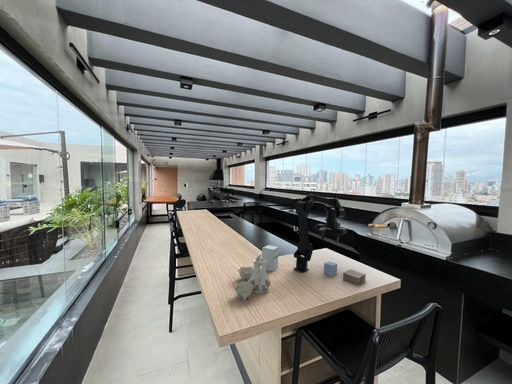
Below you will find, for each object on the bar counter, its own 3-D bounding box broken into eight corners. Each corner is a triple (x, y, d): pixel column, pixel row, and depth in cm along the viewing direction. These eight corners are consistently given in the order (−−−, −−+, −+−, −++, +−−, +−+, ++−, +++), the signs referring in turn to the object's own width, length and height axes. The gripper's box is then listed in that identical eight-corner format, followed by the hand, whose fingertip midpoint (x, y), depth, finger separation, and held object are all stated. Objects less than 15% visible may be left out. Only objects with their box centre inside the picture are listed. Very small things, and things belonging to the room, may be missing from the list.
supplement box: (272, 272, 120) (273, 249, 120) (260, 269, 124) (261, 247, 124) (278, 268, 127) (279, 246, 126) (267, 265, 130) (267, 244, 130)
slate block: (331, 276, 117) (332, 265, 117) (323, 273, 121) (324, 262, 121) (336, 274, 120) (337, 263, 120) (328, 271, 124) (329, 261, 124)
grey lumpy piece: (236, 278, 114) (233, 247, 113) (267, 275, 115) (265, 245, 115) (234, 309, 86) (231, 268, 86) (276, 305, 87) (273, 264, 87)
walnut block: (357, 285, 108) (358, 278, 108) (342, 280, 114) (343, 272, 114) (365, 281, 113) (365, 274, 113) (350, 276, 119) (350, 269, 119)
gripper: (351, 219, 135) (350, 244, 135) (325, 215, 149) (323, 237, 149) (342, 220, 127) (341, 246, 128) (315, 215, 141) (314, 239, 142)
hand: (329, 242), depth 137 cm, fingers open, 9 cm apart
